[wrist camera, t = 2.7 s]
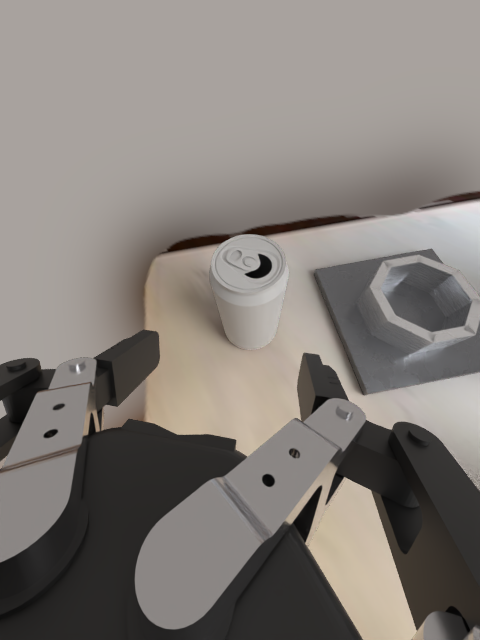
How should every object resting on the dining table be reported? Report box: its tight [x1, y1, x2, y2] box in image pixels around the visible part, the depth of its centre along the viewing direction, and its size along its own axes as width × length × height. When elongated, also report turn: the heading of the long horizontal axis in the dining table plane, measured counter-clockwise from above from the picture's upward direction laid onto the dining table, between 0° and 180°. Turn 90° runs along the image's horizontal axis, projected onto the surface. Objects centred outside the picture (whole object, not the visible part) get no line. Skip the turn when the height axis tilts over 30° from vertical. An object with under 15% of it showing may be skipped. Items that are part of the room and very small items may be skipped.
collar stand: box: [314, 249, 480, 395], centre depth 25 cm, size 16×16×4 cm
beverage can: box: [209, 234, 289, 350], centre depth 22 cm, size 6×6×12 cm
